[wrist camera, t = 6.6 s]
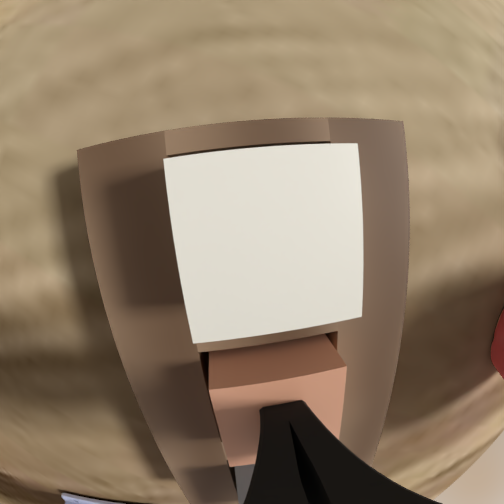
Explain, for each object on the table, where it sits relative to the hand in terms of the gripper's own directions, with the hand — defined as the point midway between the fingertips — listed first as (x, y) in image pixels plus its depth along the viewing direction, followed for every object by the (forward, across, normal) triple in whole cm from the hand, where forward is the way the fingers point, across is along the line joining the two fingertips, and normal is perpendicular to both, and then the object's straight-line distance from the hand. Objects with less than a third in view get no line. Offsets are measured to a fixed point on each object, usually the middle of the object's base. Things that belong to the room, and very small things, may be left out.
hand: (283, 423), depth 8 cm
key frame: (+4, 0, 0) cm, 4 cm away
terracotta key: (+3, 0, 0) cm, 3 cm away
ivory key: (+2, 0, -6) cm, 6 cm away
